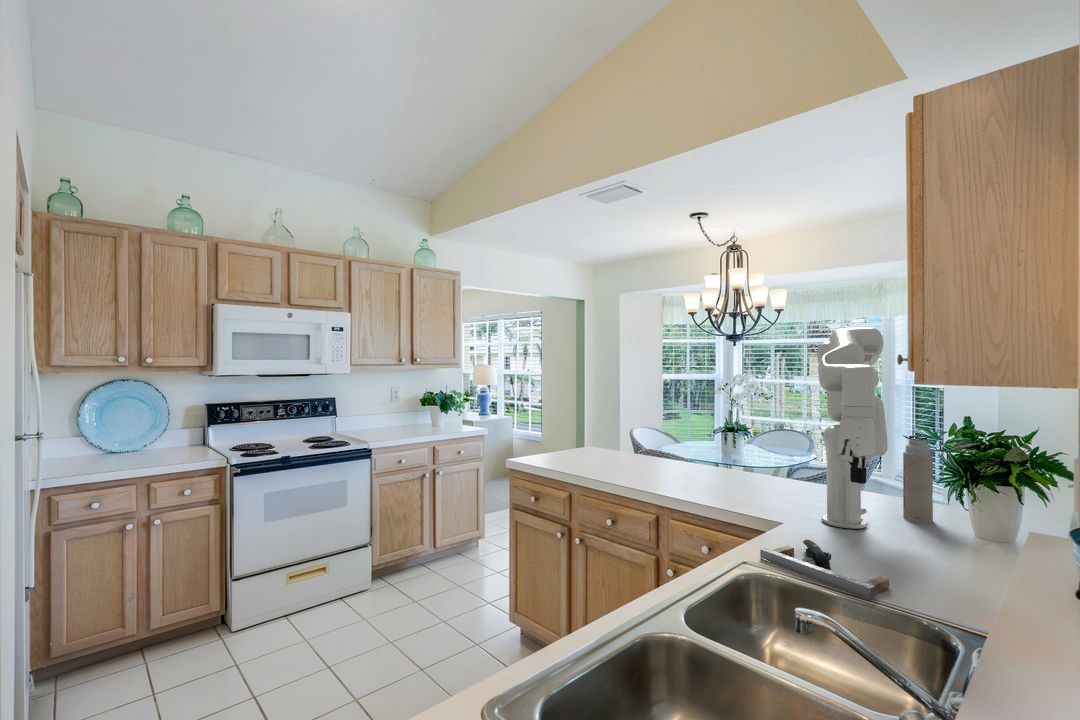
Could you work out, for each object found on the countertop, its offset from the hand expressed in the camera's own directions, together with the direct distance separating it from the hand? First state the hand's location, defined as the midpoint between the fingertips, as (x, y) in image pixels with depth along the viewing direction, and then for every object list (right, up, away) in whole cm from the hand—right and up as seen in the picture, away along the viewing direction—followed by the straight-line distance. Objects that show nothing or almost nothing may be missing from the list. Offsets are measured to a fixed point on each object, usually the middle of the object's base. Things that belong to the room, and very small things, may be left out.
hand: (858, 482), depth 140 cm
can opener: (-12, -22, 0) cm, 25 cm away
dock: (-13, -21, -8) cm, 26 cm away
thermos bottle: (+41, -21, +36) cm, 59 cm away
